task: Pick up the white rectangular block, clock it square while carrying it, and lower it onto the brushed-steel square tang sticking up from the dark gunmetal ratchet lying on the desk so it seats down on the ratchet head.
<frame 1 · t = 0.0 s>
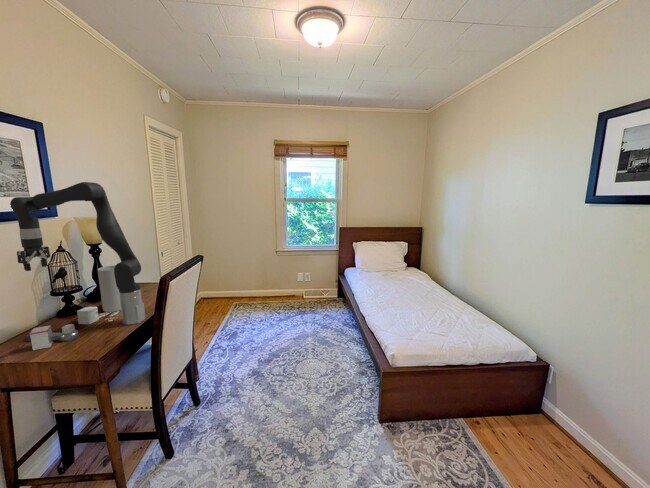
hand: (36, 268, 142), 29 cm above the table, fingers open, 8 cm apart
ratchet: (69, 338, 131), on the table
white rectangular block: (43, 345, 124), on the table
cylinder vase: (116, 308, 166), on the table
skincare box: (89, 322, 148), on the table
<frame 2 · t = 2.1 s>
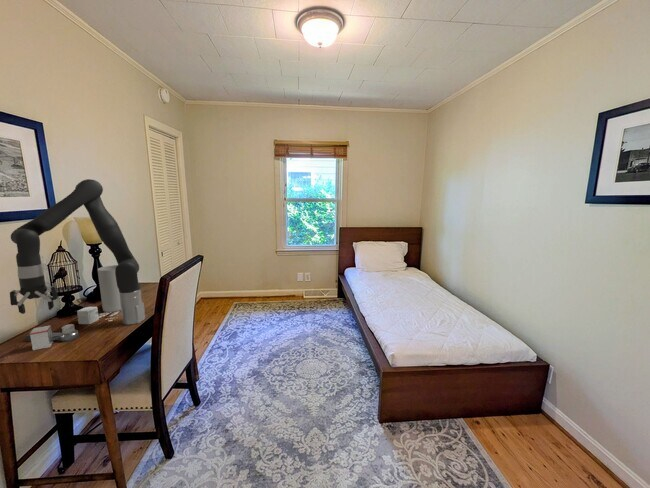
hand: (37, 311, 122), 16 cm above the table, fingers open, 8 cm apart
nothing on the table moved.
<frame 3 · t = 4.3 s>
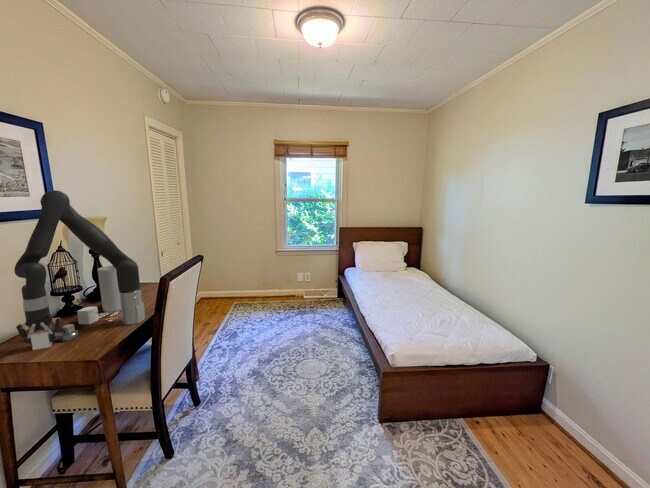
hand: (42, 342, 124), 1 cm above the table, fingers closed on white rectangular block, 5 cm apart
white rectangular block: (43, 345, 124), on the table, touching gripper
everything else where it was.
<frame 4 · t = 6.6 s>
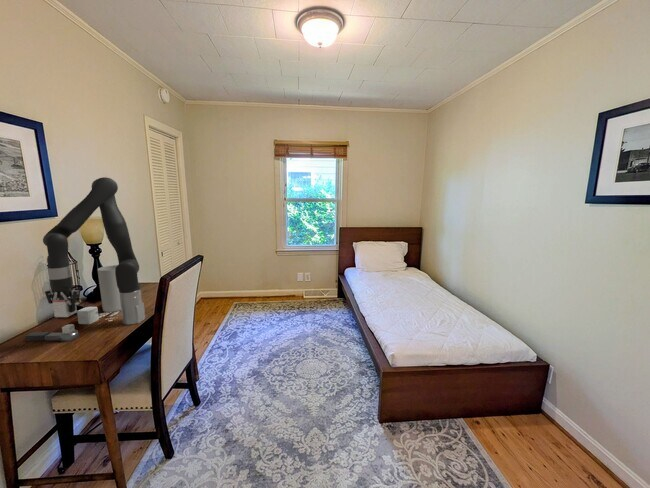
hand: (65, 311, 129), 13 cm above the table, fingers closed on white rectangular block, 5 cm apart
white rectangular block: (66, 314, 129), point 12 cm above the table, touching gripper
everything else where it was.
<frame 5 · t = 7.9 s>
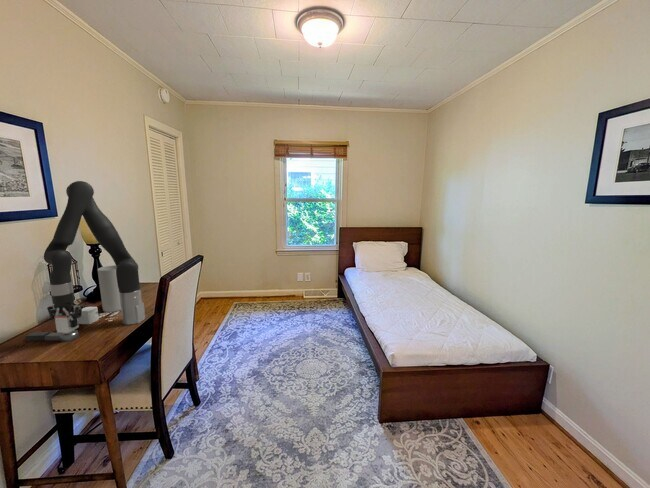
hand: (67, 326, 130), 6 cm above the table, fingers closed on white rectangular block, 5 cm apart
white rectangular block: (68, 329, 130), point 4 cm above the table, touching gripper
everything else where it was.
when the fingers open (5 cm above the table, at t = 9.0 s): white rectangular block stays where it is, resting on ratchet.
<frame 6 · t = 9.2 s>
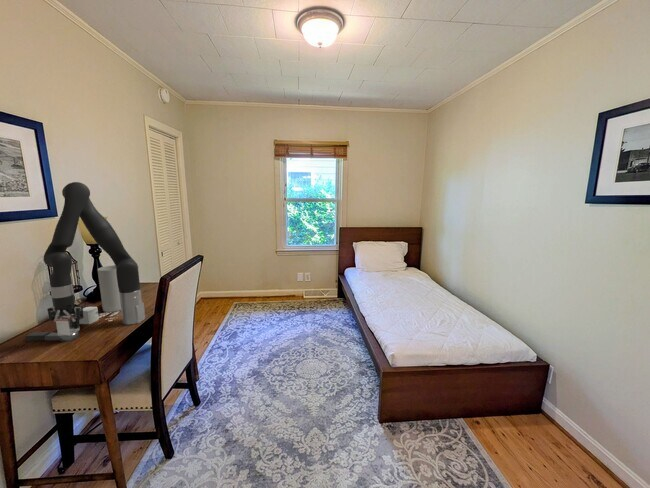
hand: (68, 328, 130), 5 cm above the table, fingers open, 7 cm apart
white rectangular block: (69, 332, 130), point 3 cm above the table, touching ratchet
everything else where it was.
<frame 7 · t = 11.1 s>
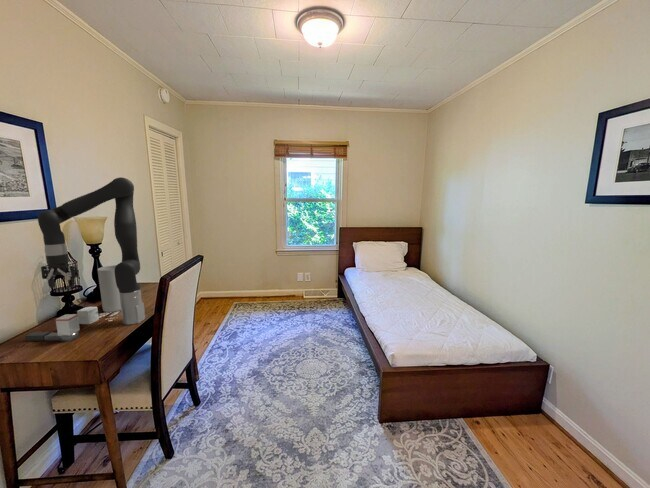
hand: (62, 286, 132), 24 cm above the table, fingers open, 8 cm apart
nothing on the table moved.
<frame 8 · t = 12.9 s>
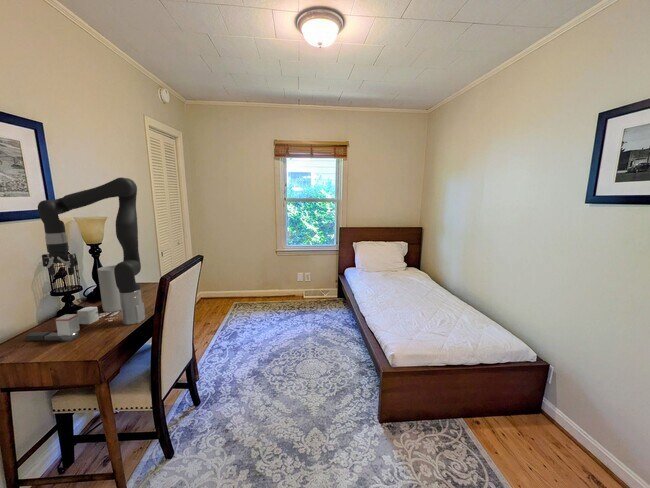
hand: (62, 274, 136), 28 cm above the table, fingers open, 8 cm apart
nothing on the table moved.
at the end: white rectangular block 0.1 cm off-centre on the ratchet, point 2.8 cm above the ratchet's base; white rectangular block tilted 0°; the gripper is holding nothing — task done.
